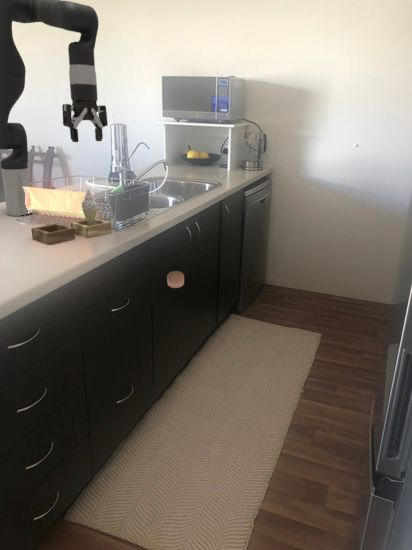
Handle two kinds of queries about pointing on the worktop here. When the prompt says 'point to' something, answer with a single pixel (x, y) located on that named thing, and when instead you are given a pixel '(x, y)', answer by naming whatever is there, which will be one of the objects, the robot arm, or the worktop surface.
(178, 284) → the pale pink round disc
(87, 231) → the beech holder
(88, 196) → the ice cream cone
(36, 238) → the walnut holder
